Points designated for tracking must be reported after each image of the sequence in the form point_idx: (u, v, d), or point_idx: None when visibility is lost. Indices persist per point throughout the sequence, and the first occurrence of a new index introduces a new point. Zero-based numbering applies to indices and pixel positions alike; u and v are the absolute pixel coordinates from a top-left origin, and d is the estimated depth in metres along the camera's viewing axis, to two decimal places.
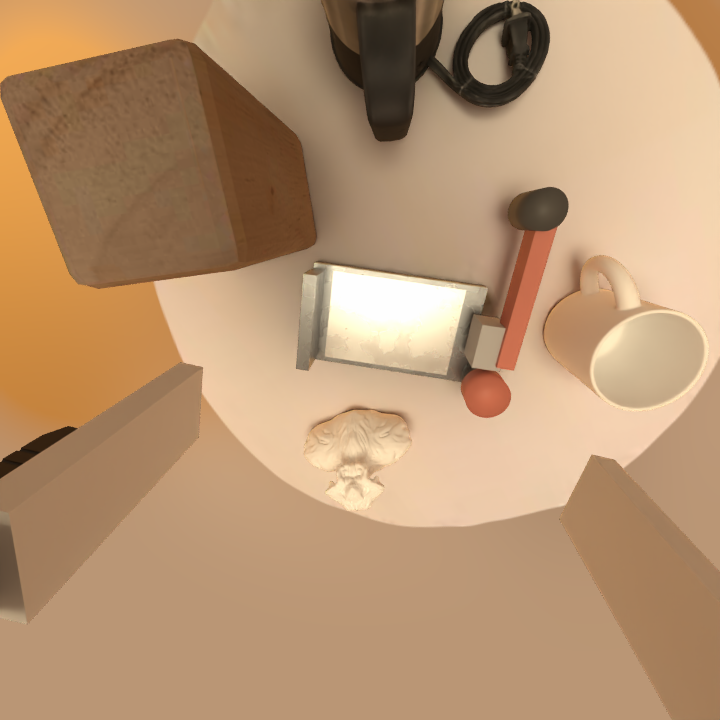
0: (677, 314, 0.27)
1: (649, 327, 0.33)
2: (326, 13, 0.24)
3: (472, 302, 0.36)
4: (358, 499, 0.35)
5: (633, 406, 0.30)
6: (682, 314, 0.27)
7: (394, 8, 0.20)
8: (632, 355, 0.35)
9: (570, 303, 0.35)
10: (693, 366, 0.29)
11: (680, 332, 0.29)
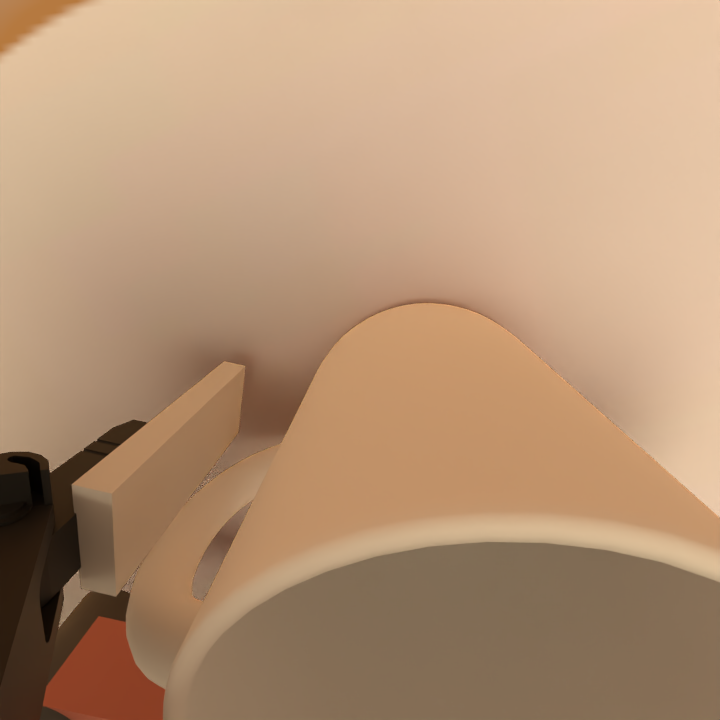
0: (180, 694, 0.04)
1: None
2: None
3: None
4: None
5: None
6: (177, 675, 0.04)
7: None
8: None
9: None
10: None
11: None
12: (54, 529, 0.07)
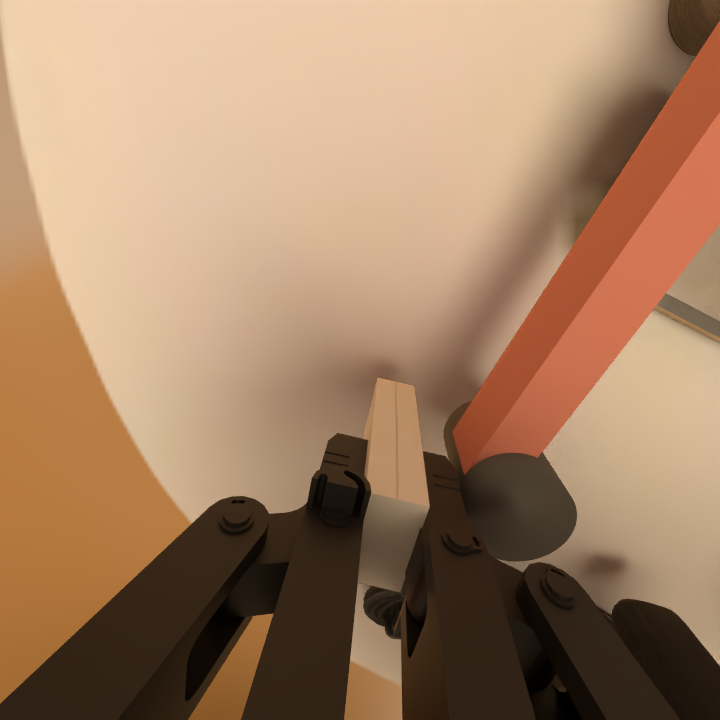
0: None
1: None
2: None
3: None
4: None
5: None
6: None
7: None
8: None
9: None
10: None
11: None
12: None
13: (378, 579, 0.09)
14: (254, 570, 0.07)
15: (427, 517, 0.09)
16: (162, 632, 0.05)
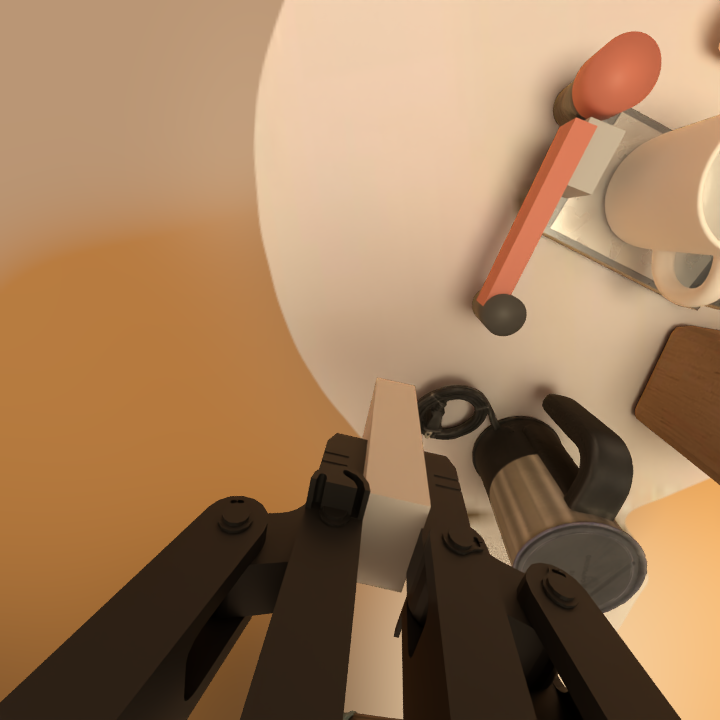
0: None
1: None
2: None
3: None
4: None
5: None
6: (717, 244, 0.21)
7: (592, 510, 0.26)
8: None
9: None
10: None
11: None
12: None
13: (379, 579, 0.09)
14: (253, 570, 0.07)
15: (428, 517, 0.09)
16: (161, 632, 0.05)
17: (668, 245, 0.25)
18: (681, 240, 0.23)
